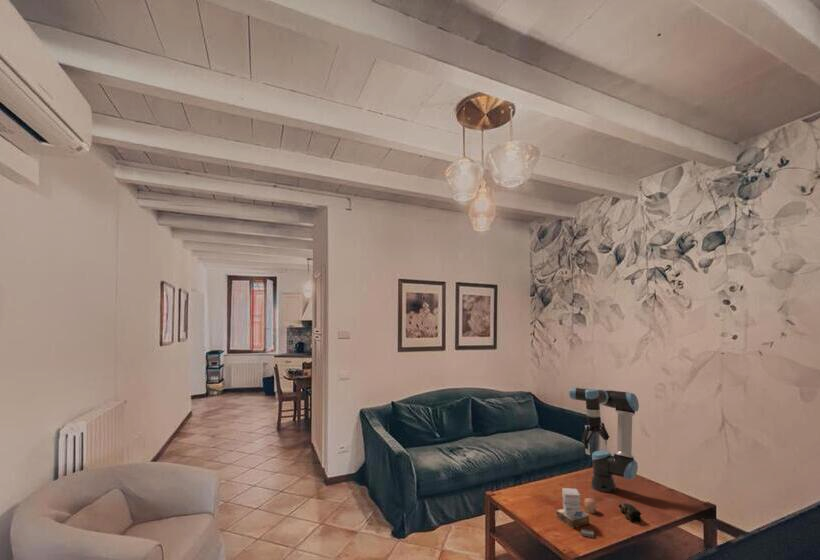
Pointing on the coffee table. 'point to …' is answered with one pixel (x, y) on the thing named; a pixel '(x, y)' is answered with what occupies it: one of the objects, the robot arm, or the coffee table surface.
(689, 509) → the coffee table surface
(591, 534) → the gray rectangular block
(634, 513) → the sculpture
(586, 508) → the tan rounded cylinder
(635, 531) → the coffee table surface
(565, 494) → the ink box
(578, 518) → the plinth
